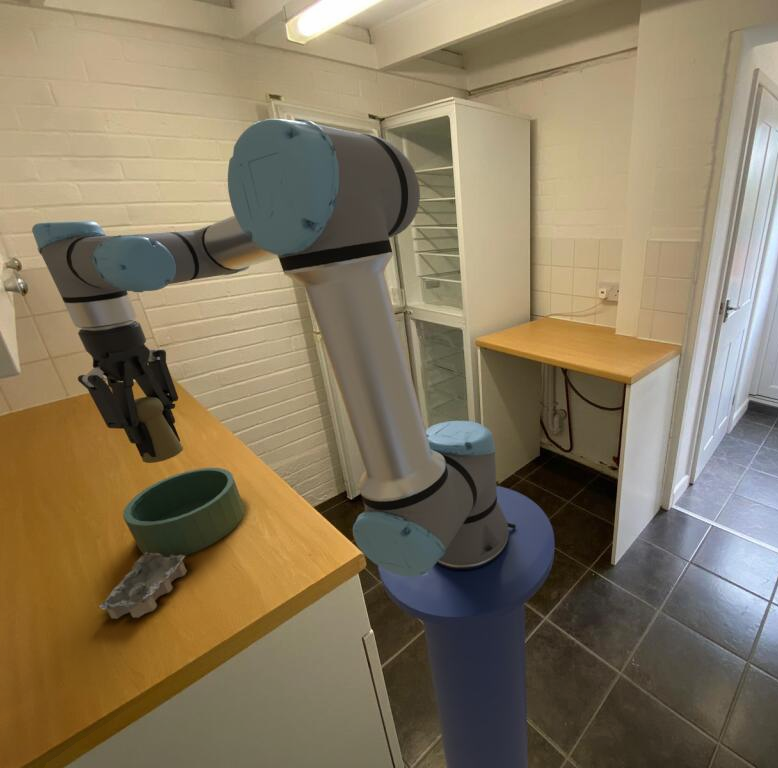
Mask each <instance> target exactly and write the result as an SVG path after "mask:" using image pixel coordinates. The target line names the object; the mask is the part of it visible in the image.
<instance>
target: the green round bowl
mask: <svg viewBox="0 0 778 768" xmlns="http://www.w3.org/2000/svg"><path fill="white" fill-rule="evenodd" d="M122 514H123V515H122V517H123V520H124V522H125V524H126V526H127V528H128V530H129V531H130V533H131V535H132V537H133V539H134V541H135V544H136V546H137V547H138V549H139V550H140V552H141V554H142V555H144V554H145V553H146V552H147V551H149V552H148V553H159V554H162V555H163V556H164V557H170V555H174V556H179V555H184V556H185V557H186V556H188V555H191V554H194V553H196V552H199V551H201V550H204V549H206V548H208V547H209V546H210V547H211V546H212V545H214V544H215V543H217V542H219V541H220V540H222V539H223V538H225V537H226V536H227V535H228V534H230V533H231V532H232V531H233V530H234V529H235V528H236V527H237V526H238V525H239V524H240V522H241V521H242V519H243V518H244V514H245V506H244V503H243V500H242V497H241V495H240V492H239V489H238V486H237V484H236V481H235V478H234V475H233V473H232V472H231V471H229V470H228V469H224V468H222V467H204V468H196V469H192V470H188V471H183V472H180V473H177V474H174V475H171V476H169V477H166V478H164V479H162V480H160V481H157V482H155V483H153V484H152V485H150V486H148V487H146V488H145V489H143V490H142V491H140V492H139V493H138V494H137V495H135V496H134V497H133V498H132V499H131V500H129V502H128V503H127V504H126V506H125V508H124V509H123V513H122Z"/></svg>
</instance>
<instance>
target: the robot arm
mask: <svg viewBox="0 0 778 768" xmlns="http://www.w3.org/2000/svg"><path fill="white" fill-rule="evenodd" d="M227 190H228V191H227V192H228V196H229V202H230V205H231V209H232V212H233V215H231V216H229V217H227V218H225V219H221V220H220V221H217V222H214V223H212V224H209V225H207V226H204V227H202V228H199V229H193V230H192V229H191V230H181V231H167V232H166V231H165V232H153V233H138V234H124V235H121V234H119V235H106V234H105V232H104V230H103V228H102V226H101V225H99V223H97V222H96V221H93V220H83V221H82V220H81V221H80V220H79V221H56V222H55V221H53V222H52V221H51V222H38V223H35V224H34V225H33V226H32V228H31V232H32V235H33V237H34V240H35V243H36V245H37V251H38V253H39V254H40V255H41V257H42V259H43V261H44V263H45V265H46V267H47V270H48V272H49V274H50V276H51V278H52V280H53V282H54V284H55V287H56V288H57V291H58V293H59V296H60V297H61V299H62V302H63V304H64V306H65V308H66V310H67V313H68V315H69V317H70V319H71V321H72V323H73V325H74V326H75V327H76V328H78V329H79V330H78V332H77V334H78V336H79V339H80V342H81V343H82V345H83V347H84V350H85V351H86V352H87V353H88V354H89V355H90V356H91V358H92V369H91V370H90V371H89V372H88V373H87V374H80V375H79V376H78V377H77V381H78V382H79V383H80V384H81V385H82V386H83V387H85V388H86V389H87V391H88V392H89V394H90V396H91V398H92V400H93V402H94V404H95V406H96V408H97V410H98V412H99V414H100V415H101V418H102V419H103V421H104V423H105V425H106V427H107V428H108V429H115V430H116V429H118V430H119V429H120V430H122V429H123V430H124V432H125V435H126V436H127V439H128V441H129V443H130V444H133V445H135V446H136V449H137V451H138V453H139V456H140V457H141V458H142V457H144V453H148V454H149V455H150V456H151V457H156V454H155V450H154V446H153V442H152V438H151V436H150V434H149V432H148V429H147V427H146V425H145V423H139V420H138V415H137V410H136V405H135V395H134V391H133V387H134V386H135V382H136V384H137V385H138V386H139V388H140V389H141V391H142V392H143V394H144V395H145V397H156V398H158V399H159V400H160V401H161V402H162V404H163V409H164V410H163V412H162V414H163V416H164V417H165V419H166V421H167V422H168V424H169V425H170V427H171V429H172V430H173V432H174V434H175V435H176V437H177V438H178V440H179V442H180V443H181V439H180V437H179V433H178V431H177V429H176V426H175V424H176V419H175V415H174V413H173V410H174V409H175V408H176V403H174V402H177V401H178V400H179V395H178V392H177V389H176V387H175V384H174V381H173V378H172V376H171V373H170V369H169V367H168V363H167V352H166V350H165V349H149V347H148V346H147V345H146V344H145V343H146V342H147V338H146V336H145V332H144V331H143V328H142V326H141V323H140V322H139V321H137V320H136V319H137V318H138V314H137V313H136V310H135V307H134V306H133V303H132V301H131V298H130V296H129V293H128V292H133V293H144V292H154V291H159V290H162V289H165V288H166V287H167V286H168V285H173V284H180V283H184V282H189V281H194V280H199V279H200V280H201V279H207V278H213V277H220V276H230V275H235V274H238V273H240V272H244V271H246V270H248V269H249V268H250V267H251V266H254V265H258V264H261V263H265V262H268V261H272V260H275V259H278V260H279V263H280V266H281V269H282V273H283V274H284V275H285V276H286V277H288V278H290V279H292V280H293V281H295V282H296V283H299V284H300V285H301V286H302V287H303V288H304V289H305V292H306V295H307V298H308V301H309V304H310V307H311V310H312V313H313V316H314V319H315V323H316V325H317V328H318V331H319V334H320V337H321V340H322V344H323V346H324V349H325V352H326V355H327V358H328V361H329V364H330V367H331V370H332V374H333V376H334V379H335V382H336V385H337V388H338V391H339V394H340V397H341V400H342V403H343V406H344V409H345V412H346V415H347V418H348V422H349V424H350V426H351V429H352V433H353V436H354V438H355V443H356V445H357V447H358V451H359V454H360V457H361V460H362V462H363V463H362V464H363V465H364V469H365V471H364V472H363V474H362V475H361V476H360V478H359V481H358V486H357V487H358V491H359V493H360V496H361V500H362V504H363V505H364V511H363V512H362V513H359V514H358V516H357V518H356V520H355V523H354V524H353V526H352V536H353V539H354V541H355V544H356V545H357V547H358V548H359V550H360V551H361V552H362V554H363V555H365V557H366V558H367V559H368V560H370V561H371V562H372V563H373V564H375V565H377V567H378V566H380V567H381V568H383V569H385V570H387V571H389V572H391V573H393V574H396V575H400V576H405V577H417V576H421V575H424V574H426V573H427V572H428V571H430V570H431V569H432V568H433V566H434V565H435V564H437V565H438V566H440V567H442V568H445V569H448V570H452V571H462V572H463V571H473V570H477V569H480V568H483V567H485V566H487V565H489V564H491V563H493V562H494V561H495V560H497V559H498V558H499V557H500V556H501V555H502V554H503V552H504V551H505V549H506V547H507V544H508V541H509V529H508V527H511V528H515V527H516V525H515V524H510V523H507V521H506V518H505V516H504V514H503V512H502V510H501V508H500V506H499V503H498V501H497V489H496V486H497V471H496V469H497V468H496V467H497V466H496V449H497V448H496V446H495V442H494V435H493V433H492V431H491V430H490V429H488V427H486V426H485V425H483V424H481V423H478V422H475V421H470V420H450V421H443V422H439V423H436V424H433V425H431V426H429V427H428V428H426V426H425V423H424V419H423V415H422V412H421V408H420V404H419V401H418V396H417V393H416V389H415V385H414V382H413V377H412V373H411V369H410V365H409V363H408V357H407V355H406V350H405V346H404V343H403V339H402V336H401V331H400V328H399V324H398V321H397V316H396V313H395V310H394V306H393V301H392V298H391V294H390V291H389V286H388V283H387V278H386V276H385V275H386V274H385V272H386V268H387V266H388V264H389V263H390V261H391V259H392V258H393V256H394V253H393V248H392V243H391V240H390V238H393V237H395V236H397V235H400V234H401V233H402V232H404V231H405V230H406V229H407V228H408V227H409V226H410V225H411V224H412V223H413V221H414V220H415V218H416V216H417V213H418V209H419V206H420V199H421V190H420V183H419V178H418V175H417V173H416V172H415V169H414V167H413V165H412V163H411V161H410V160H409V158H408V157H407V156H406V155H405V154H404V153H403V152H402V151H401V149H399V148H398V147H397V146H396V145H394V143H391V142H390V141H388V140H386V139H384V138H382V137H379V136H376V135H372V134H367V133H359V132H355V131H351V130H344V129H340V128H335V127H330V126H325V125H323V124H317V123H315V122H313V121H311V120H305V119H295V120H291V119H283V118H282V119H281V118H266V119H262V120H259V121H257V122H255V123H252V124H251V125H250V126H248V127H247V128H246V129H245V130H243V132H242V133H241V134H240V136H239V137H238V139H237V141H236V142H235V143H234V145H233V153H232V157H230V158H229V161H228V168H227ZM134 381H135V382H134Z"/></svg>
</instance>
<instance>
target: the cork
mask: <svg viewBox="0 0 778 768" xmlns="http://www.w3.org/2000/svg"><path fill="white" fill-rule="evenodd" d="M134 400H135V405H136V410H137V415H138V420H139V423H145V425H146V427H147V429H148V432H149V434H150V436H151V438H152V442H153V446H154V450H155V454H156V457H151V456H150V455H149V454H148V453H144V457H141V461H142V462H143V463H145V464H154V463H159V462H164V461H167V460H170V459H172V458H174V457H176V456H178V455H179V454H181V453H182V452H183V450H184V447H183V445H182V443H181V441H180V442H179V440H178V438H177V437H176V435H175V434H174V432H173V430H172V429H171V427H170V425H169V424H168V422H167V421H166V419H165V417H164V416H163V414H162V412H163V410H164V409H163V404H162V402H161V401H160V400H159V399H158V398H156V397H147V396H144V397H138V398H134Z"/></svg>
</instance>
